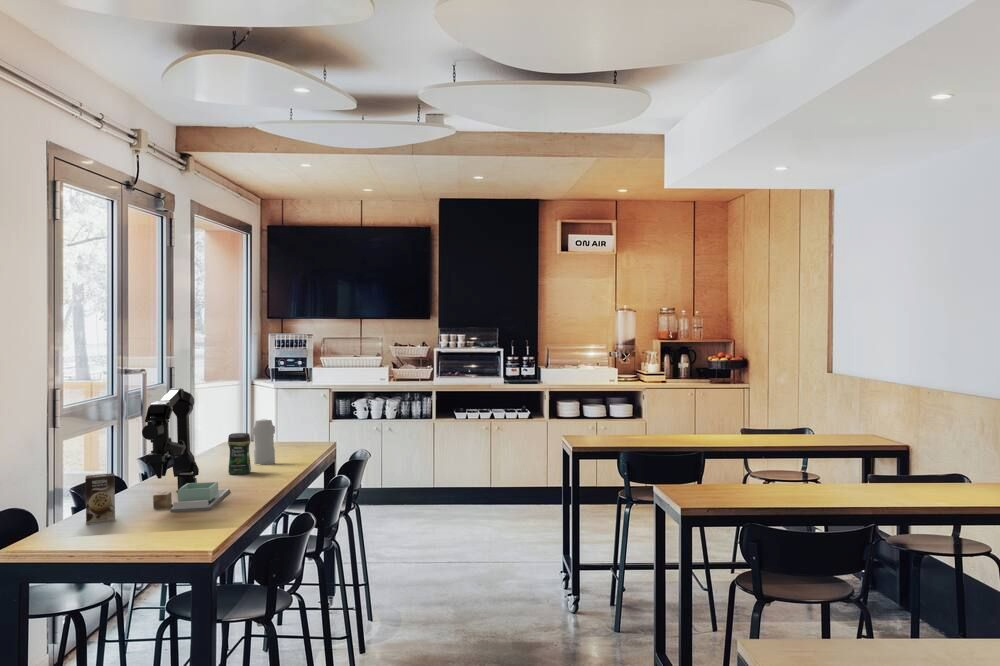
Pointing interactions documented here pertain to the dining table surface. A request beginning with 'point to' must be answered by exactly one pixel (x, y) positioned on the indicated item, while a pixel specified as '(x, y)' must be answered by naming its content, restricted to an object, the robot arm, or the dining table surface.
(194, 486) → the sage green storage bin
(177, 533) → the dining table surface
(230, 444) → the coffee jar
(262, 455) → the tall pale column
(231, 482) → the dining table surface
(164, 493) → the block
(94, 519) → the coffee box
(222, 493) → the rail board
